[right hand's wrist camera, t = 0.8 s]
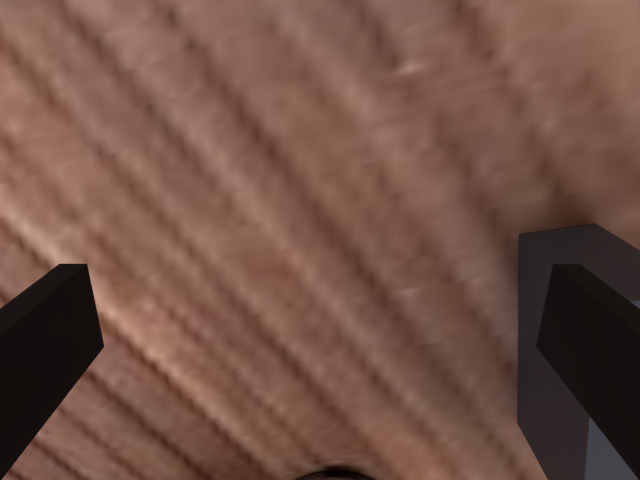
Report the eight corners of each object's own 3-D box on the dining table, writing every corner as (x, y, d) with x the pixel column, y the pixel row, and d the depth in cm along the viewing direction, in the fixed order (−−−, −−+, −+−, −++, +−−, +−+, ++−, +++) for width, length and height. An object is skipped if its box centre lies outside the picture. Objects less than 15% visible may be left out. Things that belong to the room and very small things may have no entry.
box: (580, 415, 45) (663, 529, 34) (517, 423, 46) (579, 538, 35) (595, 223, 38) (709, 291, 27) (518, 234, 38) (599, 305, 27)
